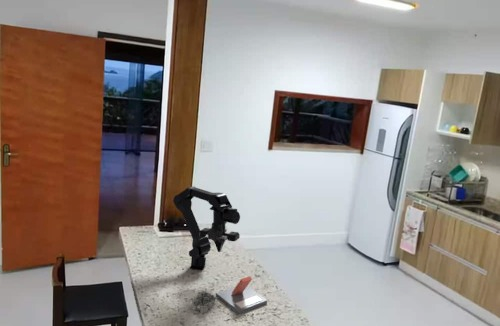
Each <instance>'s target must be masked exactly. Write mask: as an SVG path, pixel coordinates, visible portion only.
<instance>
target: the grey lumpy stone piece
mask: <svg viewBox="0 0 500 326" xmlns="http://www.w3.org/2000/svg"><path fill="white" fill-rule="evenodd" d="M217 299H218V297H216V296H214V294H211V293H209V292H206V291H205V290H202V292H200V294H198V295H197V296H196V297H195V298H193V299H192V300H191V303H190V304H191V306H192V310H193V311H200V313H201V314H205V313H208V310H209V309H211V308H212V305H215V304H216V300H217ZM202 301H203V302H202ZM198 303H202V304H203V305H198Z"/></svg>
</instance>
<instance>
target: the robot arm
mask: <svg viewBox="0 0 500 326" xmlns="http://www.w3.org/2000/svg"><path fill="white" fill-rule="evenodd" d="M194 198H197V199H200V200H201V201H202V200H203V201H206V202H208V204H209V205H211V207H209V210H210V211H212V213H213V215H212V217H213V219H212V220H213V222H211V223H212V224H211V226H210V228H209V227H208V228H207V227H204V228H202V229H201V228H200V226H199V225H198V221H197V219H196V217H195V215H194V211H193V210H192V205H193V202H192V199H194ZM172 201H173V202H172V203H173V204H174V206H175V208H176V209H177V210H178V211H179V212H180V213H182V217H183V218H184V221H185V223H186V226H187V229H188V231H189V233H190V236H191V238H192V243H191V245H192V246H191V247H192V249H191V250H189V251H188V256H189V257H191V261H190V266H189V268H190V269H191V270H192V269H193V270H200V271H204V268H205V267H206V264H207V263H206V261H207V257H206V255H208V254H209V252H210V251H211V248H212V246H211V242H210V241H211V240H212V241H213V242H214V245H215V248H216V250H217V252H218V253H221V250H222V249H223V248H224V247H223V246H224V244H225V242H226V240H228V241H229V242H236V241H238V240H239V239H240V236H241V235H240V233H239V232H238V231H230V232H229V233H227V229H226V224H227V223H228V224H229V223H230V224H234V225H237V224H238V223H239V222H240V219H241V215H240V214H241V213H239V211H238V209H237V208H233V205H232V204H231V202H230V200H229V198H228V196H227V193H224V192H212V191H208V190H204V189H201V188H198V187H196V186H189V187H187V188H185V189H184V190H183V191H181V192H179V193H178V194H177V195H174V198H173V200H172Z"/></svg>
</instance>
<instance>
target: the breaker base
mask: <svg viewBox="0 0 500 326" xmlns="http://www.w3.org/2000/svg"><path fill="white" fill-rule="evenodd" d="M235 287H236V286H233V287H230V288H226V289H224V290H220V291H218V292H215V297H217V299H219V300H220V301H221V302H222V303H223V304H225V305H226V306H228V307H229V308H230V310H231V309H232V310H233V311H234V312H235V313H236V314H238V315H240V314H244V313H245V312H248V311H251V310H254V309H256V308H258V307H261V306H264V305H266V304H267V303H268V299H267V298H265V297H264V296H263V295H261V294H259V293H258V292H257V291H255V290H254V289H252V288H250V287H249V285H248V286H247V287H246V288H245V290H244V291H243V292H242V293H239V294H236V295H232V294H231V293H232V292H233V290H234V289H235Z"/></svg>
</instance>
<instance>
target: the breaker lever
mask: <svg viewBox="0 0 500 326" xmlns="http://www.w3.org/2000/svg"><path fill="white" fill-rule="evenodd" d="M252 280H253V278H252V277H251V276H247V277H243V278H241V279H240V281H238V283H237V284H236V285H235V286H234V287H235V289H234V290H233V292H232V293H231V294H232V295H236V294H239V293H242V292H243V291H244V290H245V288H246V287H247V286H248V287H249V284H250V283H251V281H252Z"/></svg>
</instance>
